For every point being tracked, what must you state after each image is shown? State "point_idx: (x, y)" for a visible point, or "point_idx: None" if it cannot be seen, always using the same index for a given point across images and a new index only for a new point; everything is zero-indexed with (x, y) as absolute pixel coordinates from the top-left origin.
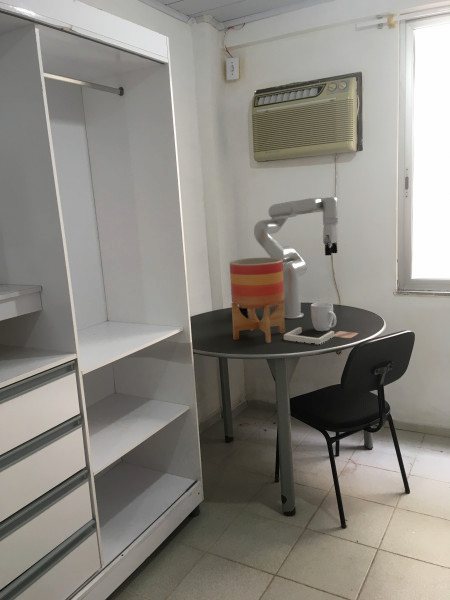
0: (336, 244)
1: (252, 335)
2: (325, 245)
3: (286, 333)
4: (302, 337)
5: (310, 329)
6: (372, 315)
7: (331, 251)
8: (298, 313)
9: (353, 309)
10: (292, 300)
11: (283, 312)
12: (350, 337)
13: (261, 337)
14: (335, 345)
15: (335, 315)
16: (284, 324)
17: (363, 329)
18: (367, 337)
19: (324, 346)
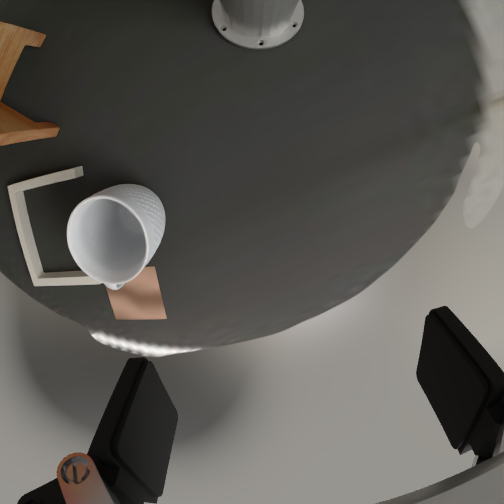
0: (475, 462)
1: (7, 86)
2: (41, 492)
3: (16, 183)
4: (20, 240)
5: (122, 176)
6: (389, 265)
7: (437, 329)
8: (251, 35)
9: (448, 175)
10: (224, 2)
11: (13, 141)
12: (121, 316)
13: None
14: (58, 309)
15: (117, 289)
16: (40, 138)
17: (211, 313)
18: (150, 345)
19: (40, 293)
